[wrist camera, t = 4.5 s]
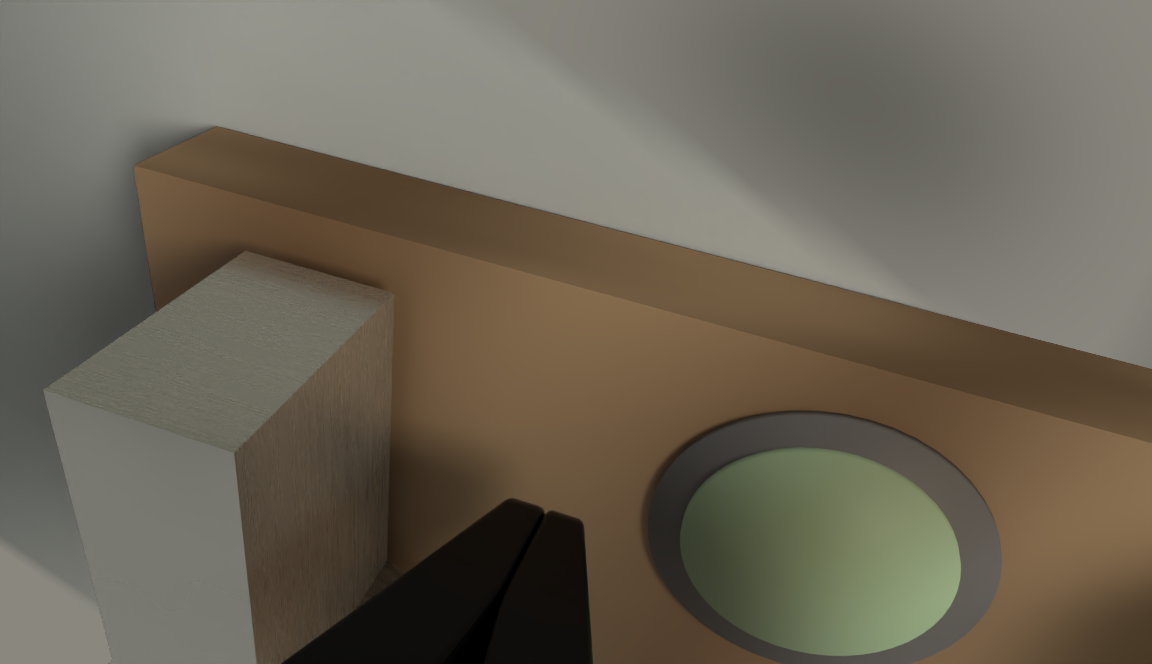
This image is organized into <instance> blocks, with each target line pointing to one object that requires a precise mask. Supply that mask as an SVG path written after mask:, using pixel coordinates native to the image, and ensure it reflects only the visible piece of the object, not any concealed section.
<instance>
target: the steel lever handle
mask: <svg viewBox="0 0 1152 664" xmlns="http://www.w3.org/2000/svg"><path fill="white" fill-rule="evenodd" d="M393 322H394V293H392V292H389V291H385V290H382V289H378V288H375V287H371V286H368V285H364V284H361V283H357V282H354V281H350V280H347V279H343V278H340V277H336V276H333V275H329V274H326V273H322V272H319V271H315V270H312V269H308V268H305V267H301V266H297V265H294V264H290V263H287V262H283V261H280V260H276V259H273V258H269V257H266V256H262V255H259V254H255V253H252V252H248V251H244V252H243V253H241V254H240V255H238V256H237V257H236V258H234V259H233V260H231V261H230V262H228V263H227V264H225V265H224V266H222V267H221V268H220V269H218V270H217V271H215V272H214V273H212V274H211V275H209V276H208V277H206V278H205V279H204V280H202V281H201V282H199V283H198V284H196V285H195V286H193V287H192V288H191V289H189V290H188V291H186V292H185V293H183V294H182V295H180V296H179V297H177V298H176V299H175V300H173V301H172V302H170V303H169V304H167V305H166V306H164V307H163V308H161V309H160V310H159V311H157V312H156V313H154V314H153V315H151V316H150V317H148V318H147V319H145V320H144V321H143V322H141V323H140V324H138V325H137V326H135V327H134V328H132V329H131V330H129V331H128V332H127V333H125V334H124V335H122V336H121V337H119V338H118V339H116V340H115V341H114V342H112V343H111V344H109V345H108V346H106V347H105V348H103V349H102V350H100V351H99V352H98V353H96V354H95V355H93V356H92V357H90V358H89V359H87V360H86V361H84V362H83V363H82V364H80V365H79V366H77V367H76V368H74V369H73V370H71V371H70V372H68V373H67V374H66V375H64V376H63V377H61V378H60V379H58V380H57V381H55V382H54V383H52V384H51V385H50V386H48V387H47V388H45V389H44V390H43V392H44V396H45V400H46V404H47V407H48V411H49V415H50V419H51V423H52V427H53V431H54V435H55V439H56V442H57V446H58V450H59V454H60V458H61V462H62V466H63V470H64V474H65V478H66V481H67V485H68V489H69V493H70V497H71V501H72V505H73V509H74V513H75V516H76V520H77V524H78V528H79V532H80V536H81V540H82V544H83V548H84V551H85V555H86V559H87V563H88V567H89V571H90V575H91V579H92V583H93V586H94V590H95V594H96V598H97V602H98V606H99V610H100V614H101V618H102V621H103V625H104V629H105V633H106V637H107V641H108V645H109V649H110V653H111V656H112V661H111V662H110V663H109V664H281V663H282V662H283V661H285V660H286V659H288V658H289V657H290V656H292V655H293V654H294V653H296V652H297V651H299V650H300V649H301V648H303V647H304V646H305V645H307V644H308V643H309V642H311V641H312V640H314V639H315V638H316V637H318V636H319V635H320V634H322V633H323V632H325V631H326V630H327V629H329V628H330V627H331V626H333V625H334V624H336V623H337V622H338V621H340V620H341V619H342V618H344V617H345V616H347V615H348V614H349V613H351V612H352V611H353V610H355V609H356V608H358V607H359V606H360V605H362V604H363V603H364V602H366V601H367V600H369V599H370V598H371V597H373V596H374V595H375V594H377V593H378V592H380V591H381V590H382V589H384V588H385V587H386V586H388V585H389V584H391V583H392V582H393V581H395V580H396V579H397V578H399V577H400V576H402V575H403V573H402V572H401V571H400V570H398V569H397V568H396V567H395V566H394V565H392V564H391V563H390V562H388V561H387V539H388V503H389V467H390V431H391V394H392V358H393Z"/></svg>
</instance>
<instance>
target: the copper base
mask: <svg viewBox="0 0 1152 664" xmlns="http://www.w3.org/2000/svg"><path fill="white" fill-rule="evenodd" d="M133 168H134V174H135V181H136V187H137V194H138V200H139V207H140V213H141V219H142V226H143V232H144V239H145V245H146V252H147V258H148V265H149V271H150V277H151V284H152V290H153V297H154V303H155V310H156V312H157V311H159V310H160V309H161V308H163V307H164V306H166V305H167V304H169V303H170V302H172V301H173V300H175V299H176V298H177V297H179V296H180V295H182V294H183V293H185V292H186V291H188V290H189V289H191V288H192V287H193V286H195V285H196V284H198V283H199V282H201V281H202V280H204V279H205V278H206V277H208V276H209V275H211V274H212V273H214V272H215V271H217V270H218V269H220V268H221V267H222V266H224V265H225V264H227V263H228V262H230V261H231V260H233V259H234V258H236V257H237V256H238V255H240V254H241V253H243V252H244V251H248V252H252V253H255V254H259V255H262V256H266V257H269V258H273V259H276V260H280V261H283V262H287V263H290V264H294V265H297V266H301V267H305V268H308V269H312V270H315V271H319V272H322V273H326V274H329V275H333V276H336V277H340V278H343V279H347V280H350V281H354V282H357V283H361V284H364V285H368V286H371V287H375V288H378V289H382V290H385V291H389V292H392V293H394V322H393V358H392V394H391V431H390V467H389V503H388V539H387V561H388V562H390V563H391V564H392V565H394V566H395V567H396V568H397V569H398V570H400V571H401V572H402V573H403V574H404V573H406V572H407V571H408V570H410V569H411V568H413V567H414V566H415V565H417V564H418V563H419V562H421V561H422V560H424V559H425V558H426V557H428V556H429V555H430V554H432V553H433V552H435V551H436V550H437V549H439V548H440V547H441V546H443V545H444V544H446V543H447V542H448V541H450V540H451V539H452V538H454V537H455V536H457V535H458V534H459V533H461V532H462V531H463V530H465V529H466V528H468V527H469V526H470V525H472V524H473V523H474V522H476V521H477V520H478V519H480V518H481V517H483V516H484V515H485V514H487V513H488V512H489V511H491V510H492V509H494V508H495V507H496V506H498V505H499V504H500V503H502V502H503V501H505V500H506V499H509V498H516V499H519V500H522V501H525V502H528V503H531V504H535V505H538V506H540V507H542V508H543V509H544V511H545V513H546V512H548V511H550V510H554V511H557V512H560V513H563V514H566V515H569V516H572V517H576V518H579V519H581V521H582V522H583V524H584V532H585V547H586V562H587V578H588V593H589V608H590V623H591V638H592V653H593V664H1152V369H1149V368H1145V367H1141V366H1137V365H1134V364H1130V363H1126V362H1122V361H1118V360H1114V359H1110V358H1106V357H1103V356H1099V355H1095V354H1091V353H1087V352H1083V351H1080V350H1076V349H1072V348H1068V347H1064V346H1060V345H1057V344H1053V343H1049V342H1045V341H1041V340H1037V339H1033V338H1030V337H1026V336H1022V335H1018V334H1014V333H1010V332H1006V331H1003V330H999V329H995V328H991V327H987V326H983V325H979V324H976V323H972V322H968V321H964V320H960V319H956V318H952V317H949V316H945V315H941V314H937V313H933V312H929V311H926V310H922V309H918V308H914V307H910V306H906V305H902V304H899V303H895V302H891V301H887V300H883V299H879V298H875V297H872V296H868V295H864V294H860V293H856V292H852V291H848V290H845V289H841V288H837V287H833V286H829V285H825V284H821V283H818V282H814V281H810V280H806V279H802V278H798V277H794V276H791V275H787V274H783V273H779V272H775V271H771V270H768V269H764V268H760V267H756V266H752V265H748V264H744V263H741V262H737V261H733V260H729V259H725V258H721V257H717V256H714V255H710V254H706V253H702V252H698V251H694V250H690V249H687V248H683V247H679V246H675V245H671V244H667V243H663V242H660V241H656V240H652V239H648V238H644V237H640V236H636V235H633V234H629V233H625V232H621V231H617V230H613V229H609V228H606V227H602V226H598V225H594V224H590V223H586V222H583V221H579V220H575V219H571V218H567V217H563V216H559V215H556V214H552V213H548V212H544V211H540V210H536V209H532V208H529V207H525V206H521V205H517V204H513V203H509V202H505V201H502V200H498V199H494V198H490V197H486V196H482V195H478V194H475V193H471V192H467V191H463V190H459V189H455V188H451V187H448V186H444V185H440V184H436V183H432V182H428V181H424V180H421V179H417V178H413V177H409V176H405V175H401V174H398V173H394V172H390V171H386V170H382V169H378V168H374V167H371V166H367V165H363V164H359V163H355V162H351V161H347V160H344V159H340V158H336V157H332V156H328V155H324V154H320V153H317V152H313V151H309V150H305V149H301V148H297V147H293V146H290V145H286V144H282V143H278V142H274V141H270V140H266V139H263V138H259V137H255V136H251V135H247V134H243V133H240V132H236V131H232V130H228V129H224V128H220V127H214V128H212V129H210V130H208V131H206V132H204V133H202V134H199V135H197V136H195V137H193V138H191V139H189V140H186V141H184V142H182V143H180V144H178V145H176V146H174V147H171V148H169V149H167V150H165V151H163V152H161V153H159V154H156V155H154V156H152V157H150V158H148V159H146V160H143V161H141V162H139V163H137V164H135V165H133Z"/></svg>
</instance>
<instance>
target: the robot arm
mask: <svg viewBox="0 0 1152 664" xmlns="http://www.w3.org/2000/svg"><path fill="white" fill-rule="evenodd" d="M281 664H593V653H592V638H591V623H590V608H589V593H588V578H587V562H586V547H585V532H584V524H583V522H582V521H581V519H579V518H576V517H572V516H569V515H566V514H563V513H560V512H557V511H554V510H550V511H548V512H546V513H545V511H544V509H543V508H542V507H540V506H538V505H535V504H531V503H528V502H525V501H522V500H519V499H516V498H509V499H506V500H505V501H503V502H502V503H500V504H499V505H498V506H496V507H495V508H494V509H492V510H491V511H489V512H488V513H487V514H485V515H484V516H483V517H481V518H480V519H478V520H477V521H476V522H474V523H473V524H472V525H470V526H469V527H468V528H466V529H465V530H463V531H462V532H461V533H459V534H458V535H457V536H455V537H454V538H452V539H451V540H450V541H448V542H447V543H446V544H444V545H443V546H441V547H440V548H439V549H437V550H436V551H435V552H433V553H432V554H430V555H429V556H428V557H426V558H425V559H424V560H422V561H421V562H419V563H418V564H417V565H415V566H414V567H413V568H411V569H410V570H408V571H407V572H406V573H404V574H403V575H402V576H400V577H399V578H397V579H396V580H395V581H393V582H392V583H391V584H389V585H388V586H386V587H385V588H384V589H382V590H381V591H380V592H378V593H377V594H375V595H374V596H373V597H371V598H370V599H369V600H367V601H366V602H364V603H363V604H362V605H360V606H359V607H358V608H356V609H355V610H353V611H352V612H351V613H349V614H348V615H347V616H345V617H344V618H342V619H341V620H340V621H338V622H337V623H336V624H334V625H333V626H331V627H330V628H329V629H327V630H326V631H325V632H323V633H322V634H320V635H319V636H318V637H316V638H315V639H314V640H312V641H311V642H309V643H308V644H307V645H305V646H304V647H303V648H301V649H300V650H299V651H297V652H296V653H294V654H293V655H292V656H290V657H289V658H288V659H286V660H285V661H283V662H282V663H281Z"/></svg>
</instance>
